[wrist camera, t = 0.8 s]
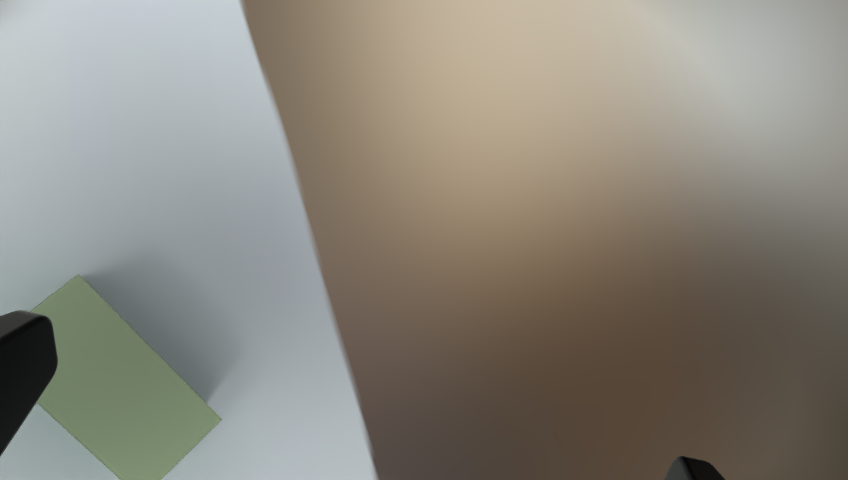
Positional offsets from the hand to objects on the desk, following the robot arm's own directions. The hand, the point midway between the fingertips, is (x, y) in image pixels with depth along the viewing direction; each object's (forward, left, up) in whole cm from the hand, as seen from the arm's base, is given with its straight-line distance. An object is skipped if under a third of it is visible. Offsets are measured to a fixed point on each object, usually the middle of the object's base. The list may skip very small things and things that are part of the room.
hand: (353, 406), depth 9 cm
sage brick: (-3, +1, -15) cm, 15 cm away
